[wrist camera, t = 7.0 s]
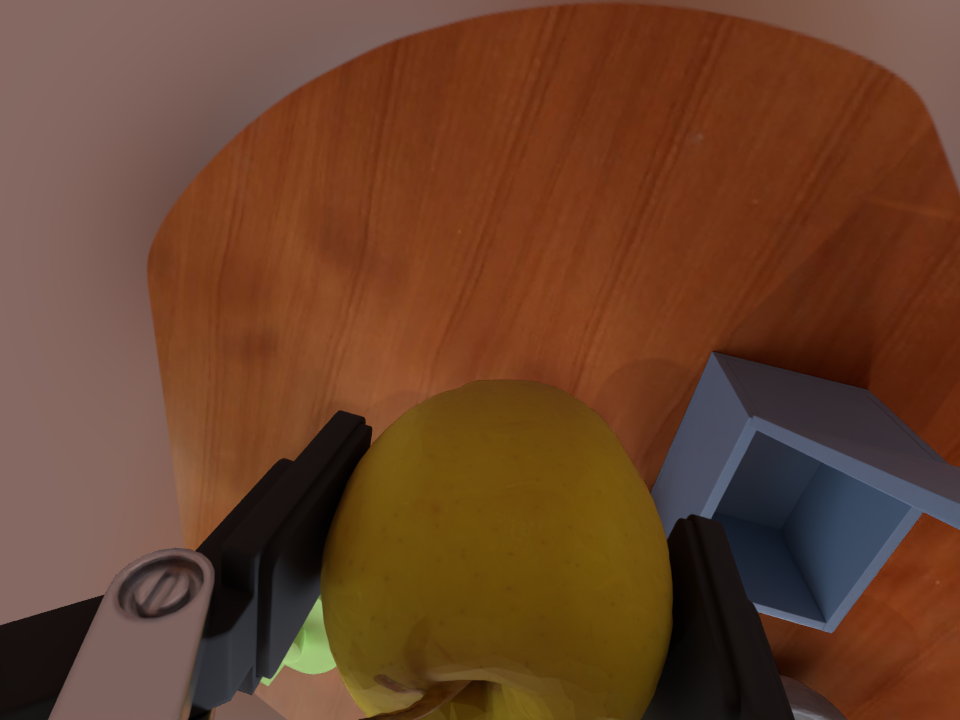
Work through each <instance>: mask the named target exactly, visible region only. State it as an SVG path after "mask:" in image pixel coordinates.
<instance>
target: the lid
mask: <svg viewBox="0 0 960 720" xmlns="http://www.w3.org/2000/svg"><path fill="white" fill-rule="evenodd" d="M750 427H751V428H753V429H755V430H758V431H760V432H762V433H764V434H766V435H768V436H770V437H772V438H774V439H776V440H778V441H780V442H782V443H784V444H786V445H788V446H790V447H792V448H794V449H796V450H798V451H800V452H802V453H804V454H806V455H808V456H811V457H813V458H815V459H817V460H819V461H821V462H823V463H825V464H827V465H829V466H831V467H833V468H835V469H837V470H839V471H841V472H843V473H845V474H847V475H849V476H851V477H853V478H855V479H857V480H859V481H862V482H864V483H866V484H868V485H870V486H872V487H874V488H876V489H878V490H880V491H882V492H884V493H886V494H888V495H890V496H892V497H894V498H896V499H898V500H900V501H902V502H904V503H906V504H908V505H910V506H912V507H915V508H917V509H919V510H921V511H923V512H925V513H927V514H929V515H931V516H933V517H935V518H937V519H939V520H941V521H943V522H945V523H947V524H949V525H951V526H953V527H955V528H957V529H959V530H960V467H956V466H952V465H948V464H944V463H940V462H936V461H933V460H929V459H925V458H921V457H917V456H913V455H909V454H905V453H901V452H897V451H893V450H889V449H885V448H882V447H878V446H874V445H870V444H866V443H862V442H858V441H854V440H850V439H846V438H842V437H838V436H834V435H831V434H827V433H823V432H819V431H815V430H811V429H807V428H803V427H799V426H795V425H791V424H787V423H783V422H780V421H776V420H772V419H768V418H764V417H760V416H756V415H754V416H753V419H752V422H751V426H750Z"/></svg>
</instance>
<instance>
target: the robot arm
mask: <svg viewBox="0 0 960 720" xmlns="http://www.w3.org/2000/svg"><path fill="white" fill-rule="evenodd" d="M365 423H366V421H365V418H364V417H362V416H358V415H355V414H351V413H348V412H345V411H341V410H340V411H338V412H337V413H336V414H335V415H334V416H333V417H332V418H331V419H330V421H329V422H328V423H327V424H326V425H325V426H324V427H323V429H322V430H321V431H320V432H319V433H318V434H317V436H316V437H315V438H314V439H313V440H312V441H311V442H310V444H309V445H308V446H307V447H306V448H305V449H304V451H303V452H302V453H301V454H300V455H299V456H298V457H297V459H296V460H295V461H291V460H288V459H285V458H284V459H281V460H279V461H278V462H277V463H276V464H274V466H273V467H272V468H271V469H270V470H269V471H268V472H267V473H266V474H265V475H264V476H263V478H262V479H261V480H260V481H259V482H258V483H257V484H256V485H255V486H254V487H253V488H252V490H251V491H250V492H249V493H248V494H247V495H246V496H245V497H244V498H243V499H242V500H241V502H240V503H239V504H238V505H237V506H236V507H235V508H234V509H233V510H232V511H231V512H230V514H229V515H228V516H227V517H226V518H225V519H224V520H223V521H222V522H221V523H220V524H219V526H218V527H217V528H216V529H215V530H214V531H213V532H212V533H211V534H210V535H209V536H208V538H207V539H206V540H205V541H204V542H203V543H202V544H201V545H200V546H199V547H198V548H197V550H196V551H193V550H190V549H181V548H172V549H165V550H158V551H155V552H152V553H150V554H147V555H144V556H142V557H140V558H138V559H136V560H135V561H133V562H132V563H130V564H128V565H127V566H126V567H125V568H123V569H122V570H121V571H120V572H119V573H118V574H117V575H116V576H115V578H114V579H113V581H112V582H111V584H110V585H109V587H108V589H107V591H106V593H105V595H101V596H98V597H95V598H91V599H88V600H84V601H81V602H78V603H74V604H71V605H68V606H64V607H61V608H58V609H54V610H51V611H47V612H44V613H40V614H37V615H34V616H30V617H27V618H24V619H21V620H17V621H13V622H10V623H6V624H3V625H0V720H214V717H215V712H216V707H217V706H220V705H222V704H224V703H226V702H228V701H231V699H232V698H233V696H234V694H235V693H236V691H237V690H238V691H241V692H244V693H247V694H250V695H252V694H253V693H254V691H255V689H256V687H257V686H258V684H259V682H260V681H261V679H262V677H265V678H268V679H271V678H272V677H273V676H274V675H275V673H276V672H277V670H278V668H279V666H280V665H281V663H282V661H283V659H284V658H285V656H286V654H287V652H288V651H289V649H290V647H291V645H292V643H293V642H294V640H295V638H296V636H297V635H298V633H299V631H300V629H301V628H302V626H303V624H304V622H305V621H306V619H307V617H308V615H309V613H310V612H311V610H312V608H313V606H314V605H315V603H316V601H317V599H318V598H319V596H320V594H321V591H320V579H321V569H322V556H323V550H324V545H325V541H326V537H327V534H328V531H329V528H330V525H331V522H332V519H333V516H334V513H335V511H336V508H337V506H338V503H339V501H340V498H341V495H342V493H343V491H344V488H345V486H346V483H347V481H348V479H349V477H350V476H351V474H352V473H353V471H354V469H355V468H356V466H357V464H358V462H359V461H360V460H361V458H362V457H363V456H364V454H365V453H366V452H367V450H368V449H369V448H370V444H371V437H372V427H371V426H368V425H365ZM667 545H668V549H669V560H670V566H671V574H672V583H673V607H672V617H673V628H672V634H671V639H670V644H669V650H668V654H667V658H666V661H665V664H664V666H663V670H662V673H661V676H660V679H659V681H658V684H657V687H656V690H655V693H654V696H653V698H652V700H651V702H650V704H649V706H648V708H647V709H646V711H645V713H644V715H643V717H642V719H641V720H795V718H794V715H793V712H792V709H791V706H790V704H789V701H788V698H787V695H786V692H785V689H784V686H783V683H782V681H781V678H780V675H779V672H778V669H777V666H776V663H775V660H774V657H773V655H772V652H771V649H770V646H769V643H768V640H767V637H766V634H765V632H764V629H763V626H762V623H761V620H760V617H759V614H758V612H757V610H756V608H755V606H754V604H753V603H752V602H751V601H750V600H748V598H747V595H746V592H745V589H744V586H743V583H742V581H741V578H740V575H739V572H738V569H737V566H736V563H735V560H734V557H733V554H732V551H731V548H730V545H729V542H728V539H727V536H726V533H725V530H724V527H723V525H722V523H720V522H719V521H716V520H712V519H709V518H705V517H702V516H699V515H695V514H690V515H689V516H688V517H687V518H686V519H683V518H679V519H678V520H677V521H676V523H675V525H674V527H673V529H672V531H671V533H670V535H669V537H668V539H667Z"/></svg>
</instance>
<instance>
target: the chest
mask: <svg viewBox="0 0 960 720" xmlns="http://www.w3.org/2000/svg"><path fill="white" fill-rule="evenodd" d="M754 415H756V416H760V417H764V418H768V419H772V420H776V421H780V422H783V423H787V424H791V425H795V426H799V427H803V428H807V429H811V430H815V431H819V432H823V433H827V434H831V435H834V436H838V437H842V438H846V439H850V440H854V441H858V442H862V443H866V444H870V445H874V446H878V447H882V448H885V449H889V450H893V451H897V452H901V453H905V454H909V455H913V456H917V457H921V458H925V459H929V460H933V461H936V462H940V463H944V464H948V463H947V462H946V461H945V460H944V459H943V458H942V457H941V456H940V455H938V454H937V453H936V452H935V451H934V450H933V449H932V448H931V447H930V446H929V445H928V444H927V443H926V442H924V441H923V440H922V439H921V438H920V437H919V436H918V435H917V434H916V433H915V432H914V431H913V430H912V429H910V428H909V427H908V426H907V425H906V424H905V423H904V422H903V421H902V420H901V419H900V418H899V417H898V416H896V415H895V414H894V413H893V412H892V411H891V410H890V409H889V408H888V407H887V406H886V405H885V404H883V403H882V402H881V401H880V400H879V399H878V398H877V397H876V396H875V395H874V394H873V393H871V392H870V391H869V390H867V389H863V388H859V387H855V386H851V385H847V384H843V383H839V382H835V381H830V380H826V379H822V378H818V377H814V376H810V375H806V374H802V373H798V372H794V371H790V370H786V369H782V368H778V367H774V366H770V365H766V364H761V363H757V362H753V361H749V360H745V359H741V358H737V357H733V356H729V355H725V354H721V353H717V352H712V353H711V355H710V358H709V360H708V362H707V364H706V367H705V369H704V371H703V374H702V376H701V378H700V381H699V383H698V385H697V387H696V390H695V392H694V394H693V397H692V399H691V401H690V404H689V406H688V408H687V410H686V413H685V415H684V417H683V420H682V422H681V424H680V427H679V429H678V431H677V433H676V436H675V438H674V440H673V443H672V445H671V447H670V450H669V452H668V454H667V456H666V459H665V461H664V463H663V466H662V468H661V470H660V473H659V475H658V477H657V479H656V482H655V484H654V486H653V489H652V491H651V493H650V494H651V496H652V498H653V500H654V503H655V506H656V509H657V512H658V515H659V517H660V519H661V522H662V525H663V528H664V532H665V536H666V540H667V539H668V537H669V535H670V533H671V531H672V529H673V527H674V525H675V523H676V521H677V520H678V519H679V518H683V519H686V518H687V517H688V516H689V515H690V514H695V515H699V516H702V517H705V518H709V519H712V520H716V521H719V522H720V523H722V525H723V527H724V530H725V533H726V536H727V539H728V542H729V545H730V548H731V551H732V554H733V557H734V560H735V563H736V566H737V569H738V572H739V575H740V578H741V581H742V583H743V586H744V589H745V592H746V595H747V598H748V600H750V601H751V602H752V603H753V604H754V606H755V608H756V610H757V612H760V613H763V614H767V615H770V616H774V617H777V618H781V619H784V620H788V621H791V622H795V623H798V624H802V625H805V626H809V627H812V628H816V629H819V630H823V631H826V632H830V633H833V631H834V630H835V629H836V627H837V626H838V625H839V623H840V622H841V621H842V619H843V618H844V617H845V615H846V614H847V613H848V611H849V610H850V609H851V607H852V606H853V605H854V603H855V602H856V601H857V599H858V598H859V597H860V595H861V594H862V593H863V591H864V590H865V589H866V587H867V586H868V585H869V583H870V582H871V581H872V579H873V578H874V577H875V575H876V574H877V573H878V571H879V570H880V569H881V568H882V566H883V565H884V564H885V562H886V561H887V560H888V558H889V557H890V556H891V554H892V553H893V552H894V550H895V549H896V548H897V546H898V545H899V544H900V542H901V541H902V540H903V538H904V537H905V536H906V534H907V533H908V532H909V530H910V529H911V528H912V526H913V525H914V524H915V522H916V521H917V520H918V518H919V517H920V516H921V514H922V513H923V511H921V510H919V509H917V508H915V507H912V506H910V505H908V504H906V503H904V502H902V501H900V500H898V499H896V498H894V497H892V496H890V495H888V494H886V493H884V492H882V491H880V490H878V489H876V488H874V487H872V486H870V485H868V484H866V483H864V482H862V481H859V480H857V479H855V478H853V477H851V476H849V475H847V474H845V473H843V472H841V471H839V470H837V469H835V468H833V467H831V466H829V465H827V464H825V463H823V462H821V461H819V460H817V459H815V458H813V457H811V456H808V455H806V454H804V453H802V452H800V451H798V450H796V449H794V448H792V447H790V446H788V445H786V444H784V443H782V442H780V441H778V440H776V439H774V438H772V437H770V436H768V435H766V434H764V433H762V432H760V431H758V430H755V429H753V428H751V427H750V426H751V422H752V419H753V416H754ZM948 465H949V464H948Z"/></svg>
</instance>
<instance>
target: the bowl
mask: <svg viewBox="0 0 960 720" xmlns="http://www.w3.org/2000/svg"><path fill="white" fill-rule="evenodd" d="M780 678H781V681H782V683H783V686H784V689H785V692H786V695H787V698H788V701H789V704H790V706H791V709H792V712H793V715H794V718H795V720H847V719H846V718H845V717H844V715H843V714H842V713H841V712H840V711H839V710H838V709H837V708H836V707H835V706H834V705H833V704H832V703H830V702H829V701H828V700H827V699H826V698H824V697H823V696H822V695H820V694H819V693H817V692H816V691H814V690H812V689H811V688H809V687H808V686H806V685H805V684H803V683H802V682H799V681H797V680H795V679H792V678H790V677H786V676H782V675H780Z"/></svg>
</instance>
